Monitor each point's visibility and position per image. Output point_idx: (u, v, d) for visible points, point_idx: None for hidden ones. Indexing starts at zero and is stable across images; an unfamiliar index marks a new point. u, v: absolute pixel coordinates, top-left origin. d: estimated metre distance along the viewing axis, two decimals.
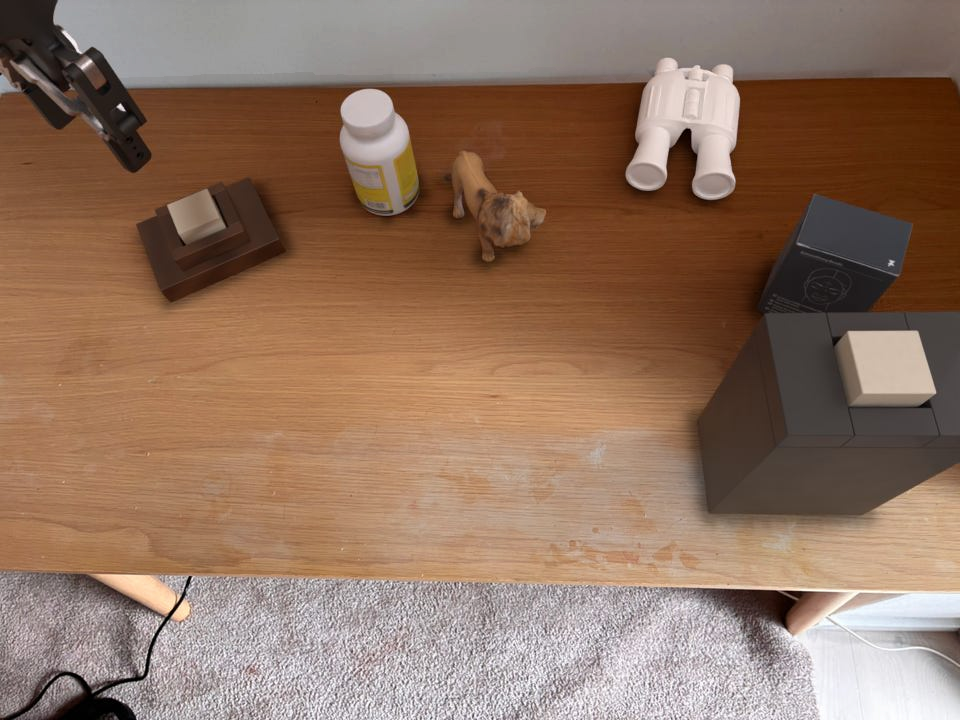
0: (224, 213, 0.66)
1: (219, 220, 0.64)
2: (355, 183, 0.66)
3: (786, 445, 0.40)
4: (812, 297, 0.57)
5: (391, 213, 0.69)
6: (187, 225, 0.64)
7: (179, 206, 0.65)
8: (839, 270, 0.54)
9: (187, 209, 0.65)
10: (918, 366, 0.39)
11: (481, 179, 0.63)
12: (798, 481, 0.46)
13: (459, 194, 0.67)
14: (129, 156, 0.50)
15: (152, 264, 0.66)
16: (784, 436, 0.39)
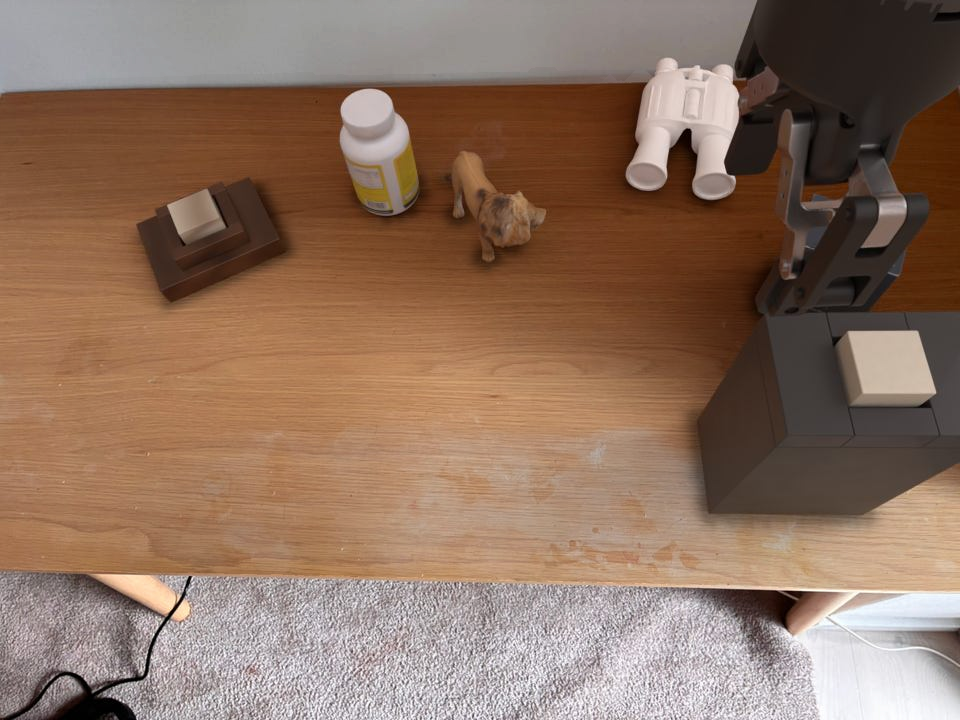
0: (224, 213, 0.66)
1: (219, 220, 0.64)
2: (355, 183, 0.66)
3: (786, 445, 0.40)
4: None
5: (391, 213, 0.69)
6: (187, 225, 0.64)
7: (179, 206, 0.65)
8: None
9: (187, 209, 0.65)
10: (918, 366, 0.39)
11: (481, 179, 0.63)
12: (798, 481, 0.46)
13: (459, 194, 0.67)
14: (781, 304, 0.31)
15: (152, 264, 0.66)
16: (784, 436, 0.39)
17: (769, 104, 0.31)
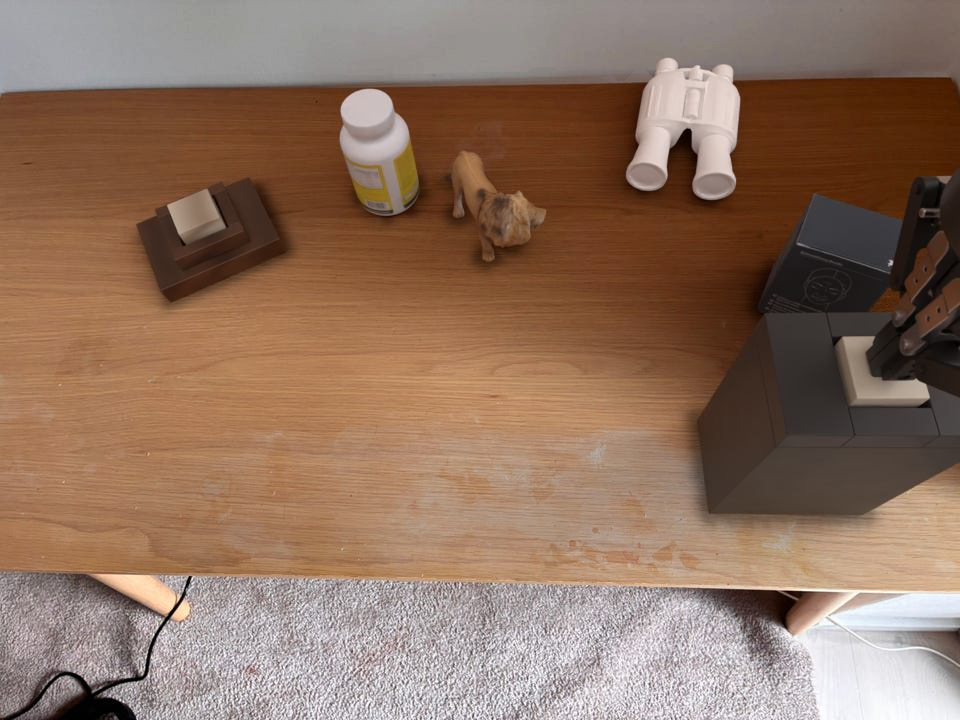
0: (224, 213, 0.66)
1: (219, 220, 0.64)
2: (355, 183, 0.66)
3: (786, 445, 0.40)
4: (812, 297, 0.57)
5: (391, 213, 0.69)
6: (187, 225, 0.64)
7: (179, 206, 0.65)
8: (839, 270, 0.54)
9: (187, 209, 0.65)
10: None
11: (481, 179, 0.63)
12: (798, 481, 0.46)
13: (459, 194, 0.67)
14: (896, 372, 0.37)
15: (152, 264, 0.66)
16: (784, 436, 0.39)
17: (932, 295, 0.34)
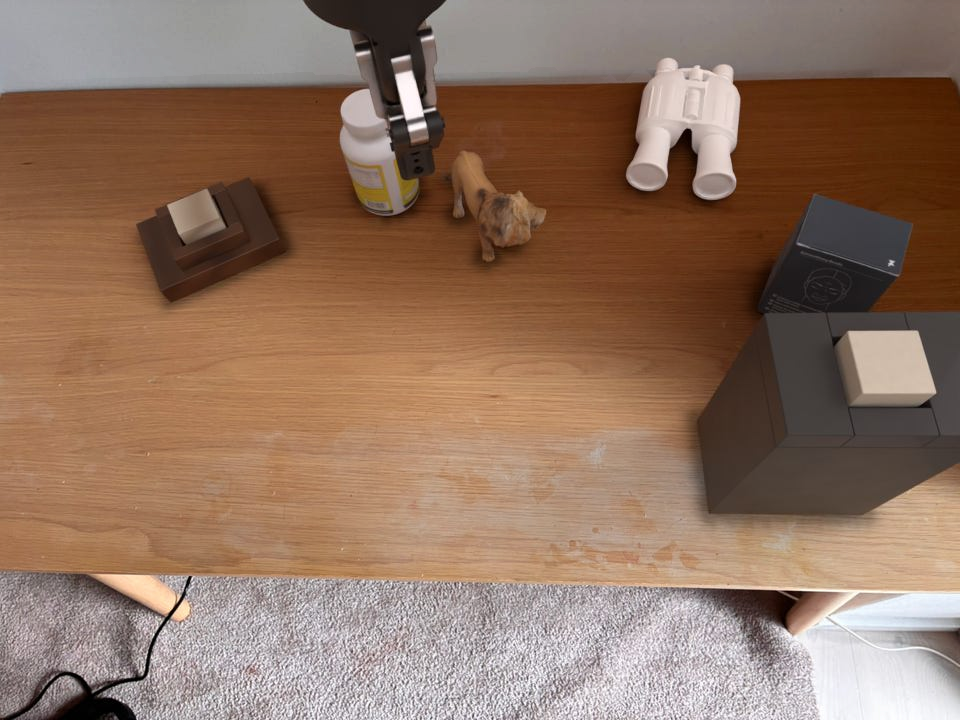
0: (224, 213, 0.66)
1: (219, 220, 0.64)
2: (355, 183, 0.66)
3: (786, 445, 0.40)
4: (812, 297, 0.57)
5: (391, 213, 0.69)
6: (187, 225, 0.64)
7: (179, 206, 0.65)
8: (839, 270, 0.54)
9: (187, 209, 0.65)
10: (918, 366, 0.39)
11: (481, 179, 0.63)
12: (798, 481, 0.46)
13: (459, 194, 0.67)
14: (406, 165, 0.41)
15: (152, 264, 0.66)
16: (784, 436, 0.39)
17: None
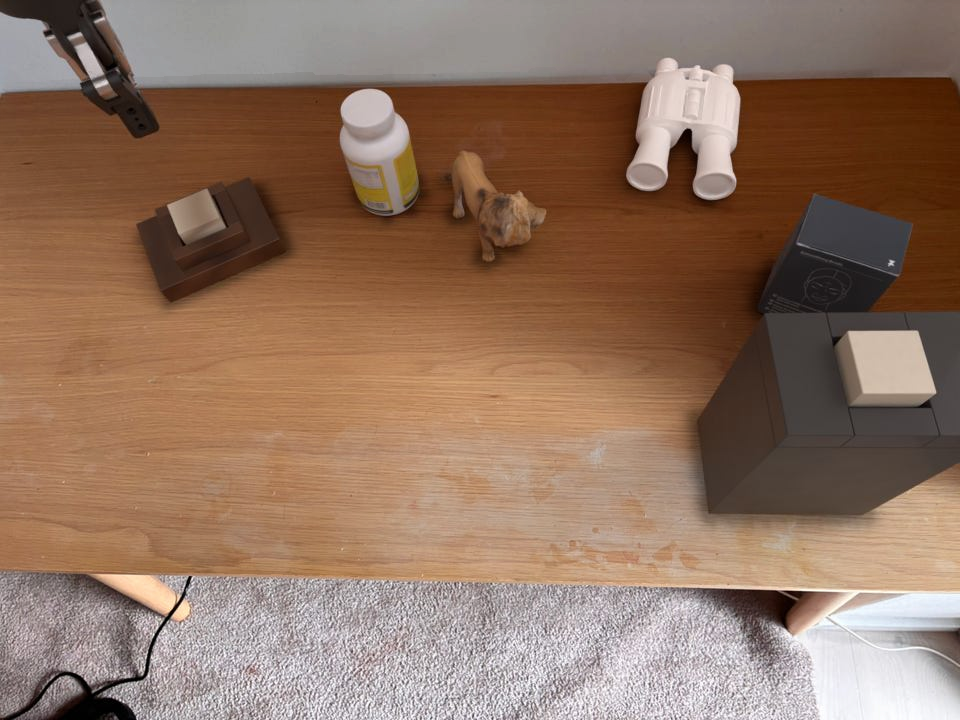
0: (224, 213, 0.66)
1: (219, 220, 0.64)
2: (355, 183, 0.66)
3: (786, 445, 0.40)
4: (812, 297, 0.57)
5: (391, 213, 0.69)
6: (187, 225, 0.64)
7: (179, 206, 0.65)
8: (839, 270, 0.54)
9: (187, 209, 0.65)
10: (918, 366, 0.39)
11: (481, 179, 0.63)
12: (798, 481, 0.46)
13: (459, 194, 0.67)
14: (129, 124, 0.53)
15: (152, 264, 0.66)
16: (784, 436, 0.39)
17: None
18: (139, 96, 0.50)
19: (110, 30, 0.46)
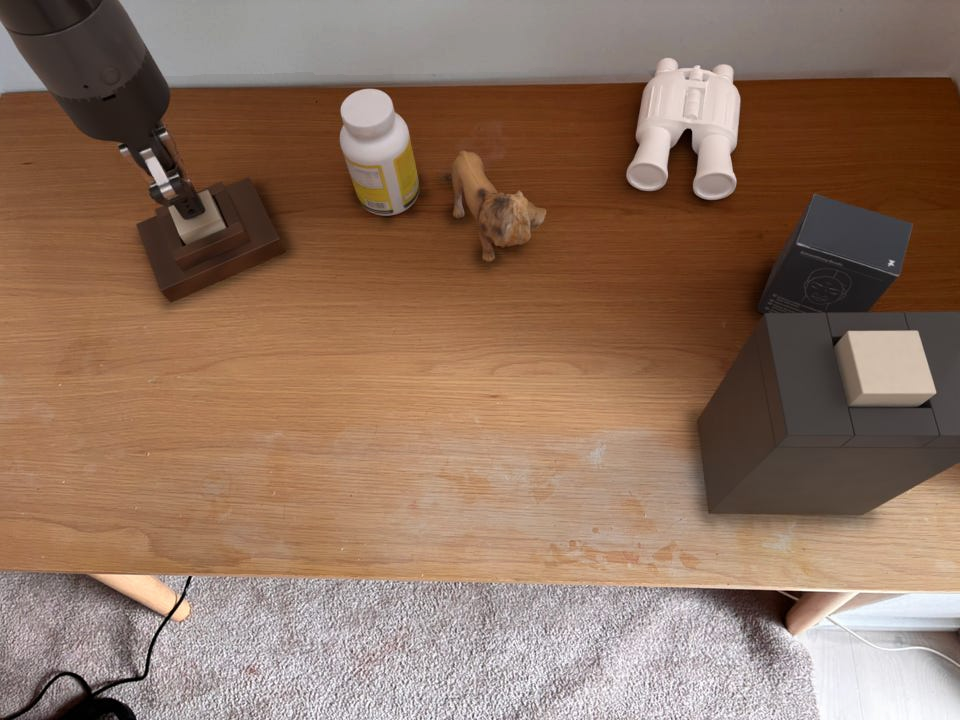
0: (224, 213, 0.66)
1: (220, 221, 0.64)
2: (355, 183, 0.66)
3: (786, 445, 0.40)
4: (812, 297, 0.57)
5: (391, 213, 0.69)
6: (188, 226, 0.64)
7: None
8: (839, 270, 0.54)
9: None
10: (918, 366, 0.39)
11: (481, 179, 0.63)
12: (798, 481, 0.46)
13: (459, 194, 0.67)
14: (181, 210, 0.62)
15: (152, 264, 0.66)
16: (784, 436, 0.39)
17: None
18: (192, 190, 0.59)
19: (172, 142, 0.56)
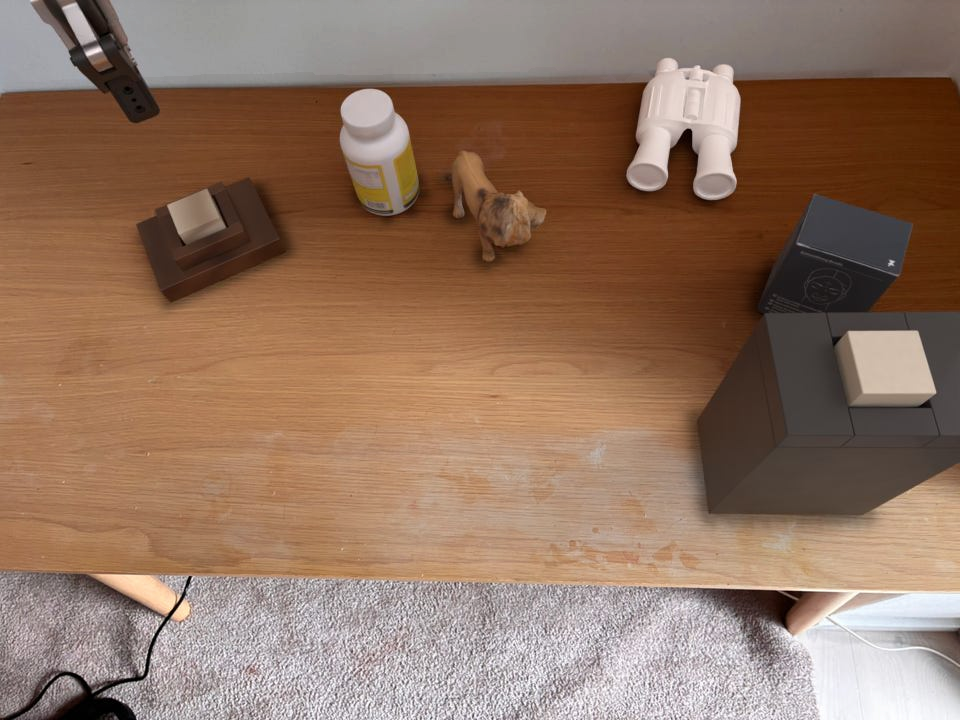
0: (224, 213, 0.66)
1: (219, 220, 0.64)
2: (355, 183, 0.66)
3: (786, 445, 0.40)
4: (812, 297, 0.57)
5: (391, 213, 0.69)
6: (187, 225, 0.64)
7: (179, 206, 0.65)
8: (839, 270, 0.54)
9: (187, 209, 0.65)
10: (918, 366, 0.39)
11: (481, 179, 0.63)
12: (798, 481, 0.46)
13: (459, 194, 0.67)
14: (126, 106, 0.46)
15: (152, 264, 0.66)
16: (784, 436, 0.39)
17: None
18: (137, 71, 0.43)
19: None
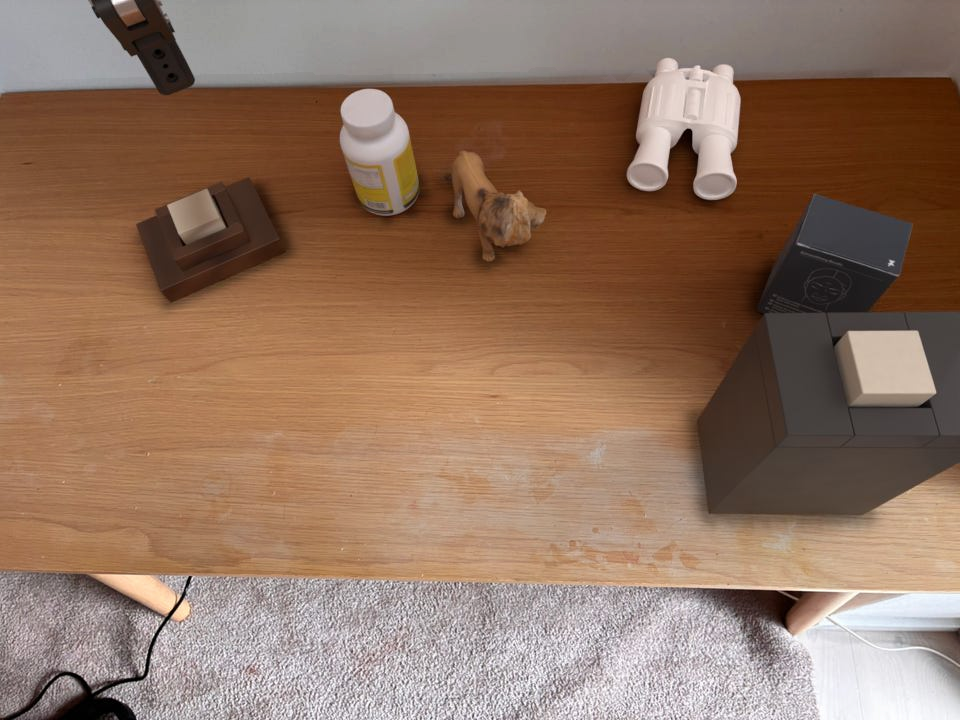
0: (224, 213, 0.66)
1: (219, 220, 0.64)
2: (355, 183, 0.66)
3: (786, 445, 0.40)
4: (812, 297, 0.57)
5: (391, 213, 0.69)
6: (187, 225, 0.64)
7: (179, 206, 0.65)
8: (839, 270, 0.54)
9: (187, 209, 0.65)
10: (918, 366, 0.39)
11: (481, 179, 0.63)
12: (798, 481, 0.46)
13: (459, 194, 0.67)
14: (156, 73, 0.38)
15: (152, 264, 0.66)
16: (784, 436, 0.39)
17: None
18: (172, 29, 0.35)
19: None
